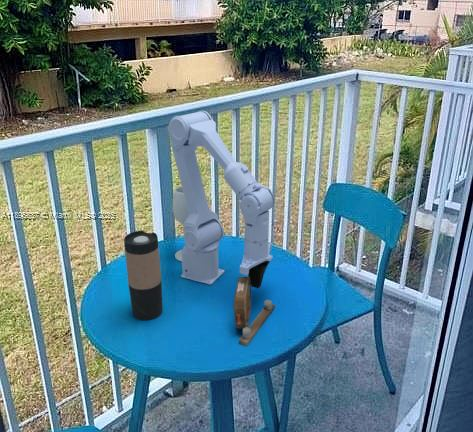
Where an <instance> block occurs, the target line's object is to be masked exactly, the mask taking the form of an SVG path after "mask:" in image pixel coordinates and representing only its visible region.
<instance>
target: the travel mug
mask: <svg viewBox="0 0 473 432" xmlns="http://www.w3.org/2000/svg"><path fill="white" fill-rule="evenodd" d="M158 239H159V237H158V235H157V233H156V232H155V231H153V232H151V233H150V232H147V231H144V230H137V231H132V232H130V233H128V234H127V235H125V237H124V238H123V243H124V251H125V252H124V253H125V254H124V255H125V262H126V274H127V281H128V282H127V284H128V291H129V298H130V303H131V309H132V311H131V312H132V315H133V317H134V318H135V319H137V320H140V321H150V320H154V319H156V318H158V317H160V316H161V315H162V313H163V292H162V291H163V289H162V286H163V285H162V284H163V283H162V270H161V261H160V260H161V259H160V250H159V249H160V248H159V241H158Z"/></svg>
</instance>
